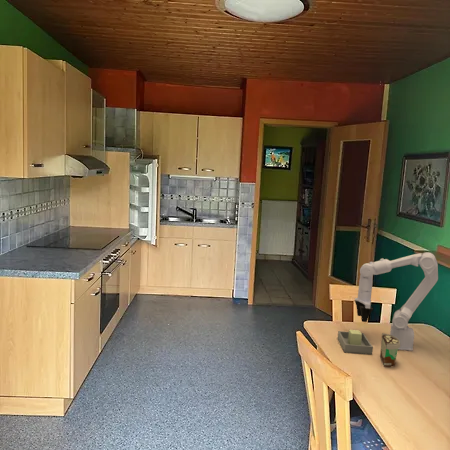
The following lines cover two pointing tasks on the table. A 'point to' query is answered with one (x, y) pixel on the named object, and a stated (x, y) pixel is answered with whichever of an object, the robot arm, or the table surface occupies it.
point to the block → (354, 337)
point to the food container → (389, 350)
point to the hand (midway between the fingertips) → (362, 318)
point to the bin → (356, 349)
